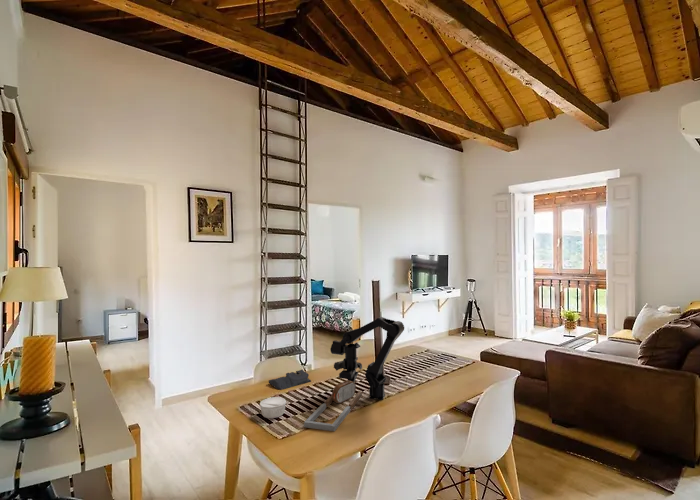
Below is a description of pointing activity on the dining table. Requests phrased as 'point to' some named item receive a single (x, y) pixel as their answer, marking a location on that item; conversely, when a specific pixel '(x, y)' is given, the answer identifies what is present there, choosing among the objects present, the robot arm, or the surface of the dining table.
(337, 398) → the tin
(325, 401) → the pair of brown bars
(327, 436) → the dining table surface
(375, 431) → the dining table surface
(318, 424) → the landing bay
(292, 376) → the dark slate chunk
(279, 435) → the dining table surface
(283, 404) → the ramekin
